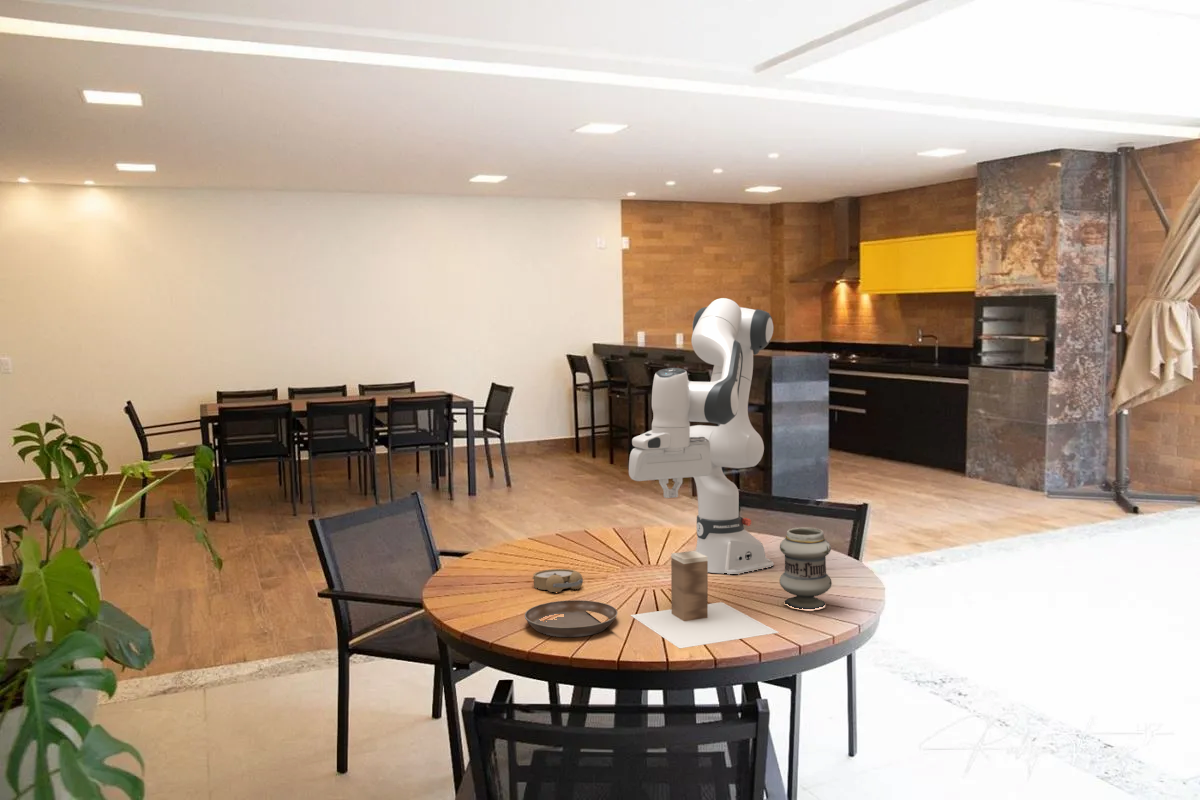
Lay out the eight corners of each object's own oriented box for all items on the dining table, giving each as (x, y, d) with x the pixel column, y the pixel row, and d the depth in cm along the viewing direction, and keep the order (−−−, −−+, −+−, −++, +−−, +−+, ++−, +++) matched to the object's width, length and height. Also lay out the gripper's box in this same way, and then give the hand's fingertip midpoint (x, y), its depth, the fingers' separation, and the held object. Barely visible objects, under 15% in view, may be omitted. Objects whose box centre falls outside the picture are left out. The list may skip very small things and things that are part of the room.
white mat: (722, 605, 220) (721, 602, 220) (779, 636, 198) (779, 632, 198) (630, 618, 210) (630, 615, 210) (679, 652, 188) (679, 648, 188)
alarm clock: (563, 567, 246) (591, 569, 233) (564, 585, 245) (593, 589, 233) (525, 573, 240) (551, 575, 227) (526, 592, 240) (553, 596, 227)
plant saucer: (512, 620, 211) (512, 605, 211) (594, 608, 219) (594, 594, 219) (544, 647, 192) (544, 632, 192) (633, 633, 201) (633, 618, 200)
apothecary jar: (769, 601, 222) (769, 527, 221) (810, 595, 227) (811, 523, 226) (799, 615, 211) (799, 538, 210) (842, 609, 216) (842, 533, 215)
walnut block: (694, 610, 213) (694, 550, 212) (707, 617, 208) (707, 556, 207) (671, 613, 211) (671, 553, 210) (683, 621, 206) (683, 559, 204)
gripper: (703, 434, 222) (703, 491, 223) (625, 439, 214) (625, 498, 215) (716, 437, 216) (716, 496, 217) (637, 442, 208) (637, 502, 209)
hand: (670, 497), depth 216 cm, fingers closed
